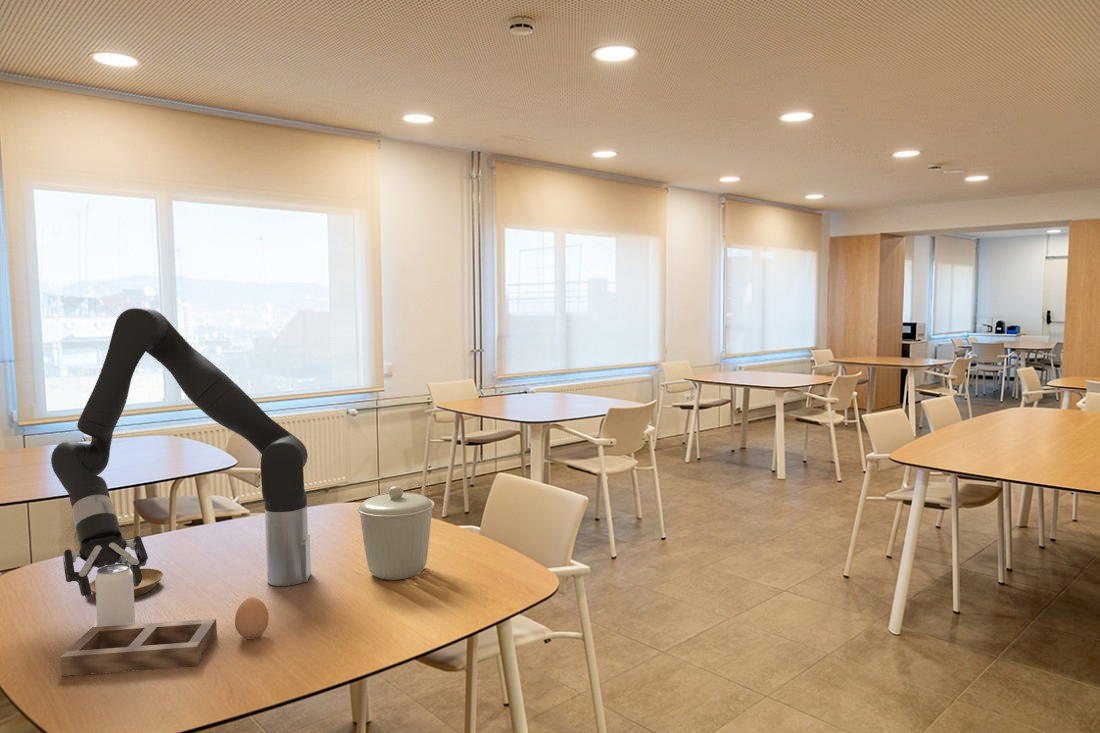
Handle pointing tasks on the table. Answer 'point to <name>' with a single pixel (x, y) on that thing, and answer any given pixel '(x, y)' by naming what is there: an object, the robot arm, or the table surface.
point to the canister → (396, 533)
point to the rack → (139, 647)
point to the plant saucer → (142, 581)
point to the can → (115, 595)
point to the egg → (251, 618)
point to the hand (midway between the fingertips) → (113, 590)
